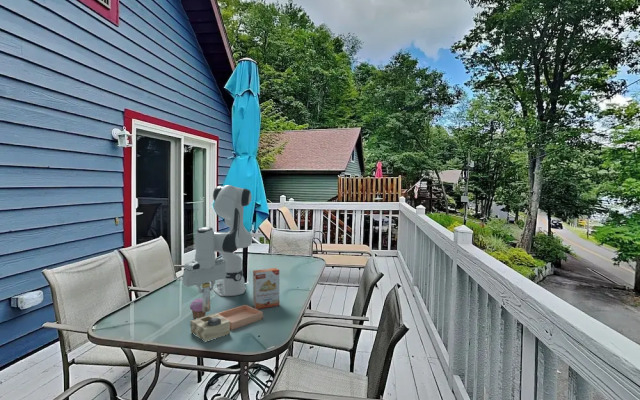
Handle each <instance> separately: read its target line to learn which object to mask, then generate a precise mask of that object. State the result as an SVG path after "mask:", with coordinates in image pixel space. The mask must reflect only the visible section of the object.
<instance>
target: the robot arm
mask: <svg viewBox="0 0 640 400" xmlns="http://www.w3.org/2000/svg"><path fill="white" fill-rule="evenodd" d="M252 197H253V196H252V191H251V190H250V189H248V188H244V187H243V188H242V187H239V186H238V187H237V186H233V185H231V184H226V185H219V186H218V185H217V186H216V187H215V188H214V190H213V193H212V200H214V204H213V210H214V212H215V213H216V215H217V216H218V217H220V218H222V219H224V224H225V225H226V227H228V228H229V230H228V231H214V229H213V227H211V226H203V227H198V229H197V228H196V231H195V235H194V249H195V255H194V258H193V259H191V260H190V261H187V262H186V263H184V268H185V270H184V271H183V274H182V285H183V286H185V287H187V288H189V287H193V286H195V287H197V289H198V293H199V294H202V293H203V289H202V283H206V282H209V283H210V292H211V291H214V292H215V293H216V294H217V295H218V296H219V297H224V296H225V297H230V296H231V297H234V296H239V295H242V294H244V293H246V291H247V287H246V286H245V285H246V283H245V277H244V275H243V274H244V272H243V262H242V261H243V260H242V258H241V256H240V255H239V254H237V253H234V252H235V251H237V249H238V250H239V249H244V248H248V247H250V246H251V245H252V243H253V236H252V234H251V233H250V232H249V231H248V230H247V229H246V227H245V226H244V212H245V211H244V209H245V208H244V207H247V206H249V205H250V203H251V201H252ZM215 252H216V253H219V254H220V256H221V259H216V253H215ZM216 281H217V282H216ZM215 284H216V287H214V286H215Z"/></svg>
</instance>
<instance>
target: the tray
mask: <svg viewBox="0 0 640 400" xmlns="http://www.w3.org/2000/svg"><path fill="white" fill-rule="evenodd" d="M215 314H217V315H219V316H221V317H222V318H224V319H226V320H228V321H230V331H231V330H232V331H234V330H236V329H239V328H241V327H245V326H248V325H249V324H252V323H255V322H258V321H260V320H264V312H263V311H261V310H260V309H255V308H254V306H253V307H252V306H250V305H247V304H242V305H239V306H237V307H236V306H235V307H233V308H229V309H226V310H223V311H220V312H216V313H215ZM233 329H234V330H233Z"/></svg>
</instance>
